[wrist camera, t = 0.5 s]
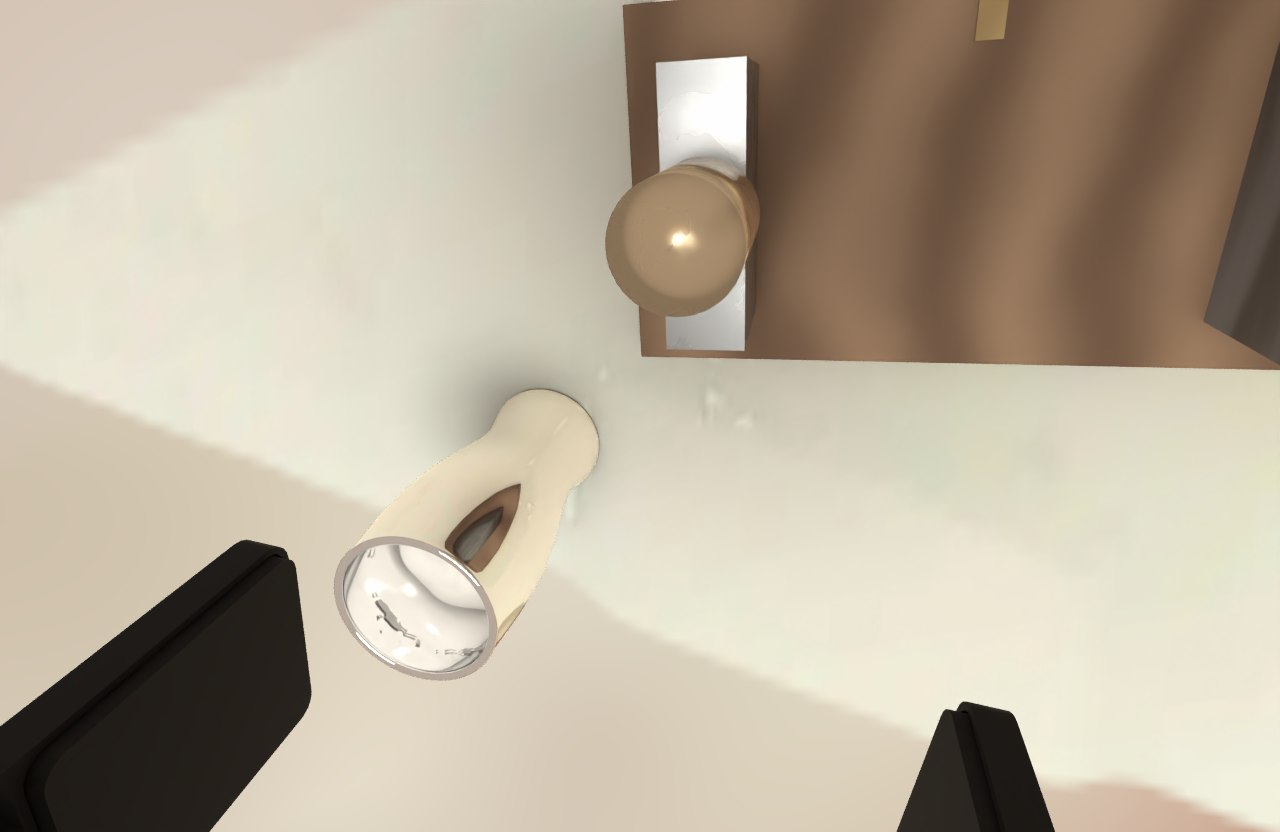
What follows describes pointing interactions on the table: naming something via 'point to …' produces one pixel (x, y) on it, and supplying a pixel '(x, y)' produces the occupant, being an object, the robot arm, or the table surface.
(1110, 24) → the base
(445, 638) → the beer glass
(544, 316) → the table surface
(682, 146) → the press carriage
